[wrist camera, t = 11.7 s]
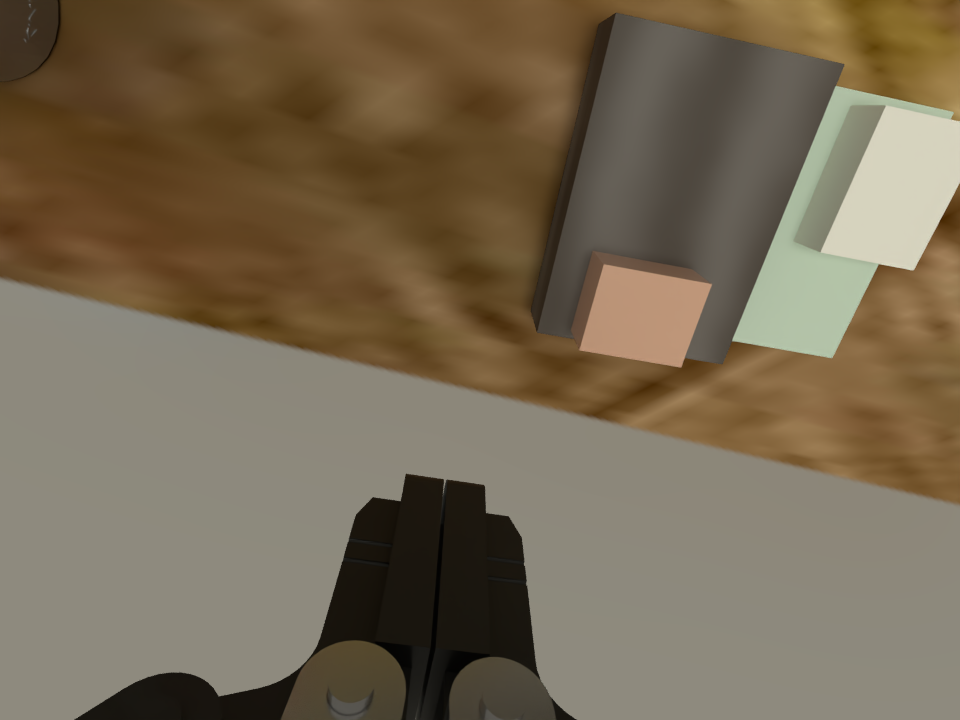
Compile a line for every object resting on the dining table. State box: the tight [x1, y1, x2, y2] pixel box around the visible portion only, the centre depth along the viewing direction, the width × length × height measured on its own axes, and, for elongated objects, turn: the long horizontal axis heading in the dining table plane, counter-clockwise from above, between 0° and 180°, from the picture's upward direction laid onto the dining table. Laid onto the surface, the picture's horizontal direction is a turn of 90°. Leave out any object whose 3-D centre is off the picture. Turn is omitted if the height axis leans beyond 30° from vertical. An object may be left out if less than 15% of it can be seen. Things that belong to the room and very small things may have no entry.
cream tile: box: [794, 105, 960, 270], centre depth 32 cm, size 6×8×3 cm
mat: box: [732, 86, 954, 358], centre depth 35 cm, size 9×16×1 cm, turn 169°
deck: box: [531, 13, 844, 364], centre depth 33 cm, size 12×17×4 cm
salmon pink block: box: [571, 251, 712, 367], centre depth 32 cm, size 6×5×3 cm
